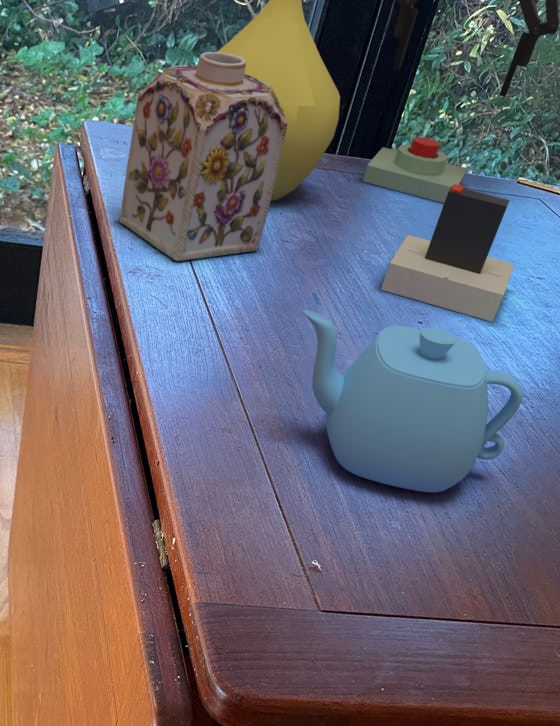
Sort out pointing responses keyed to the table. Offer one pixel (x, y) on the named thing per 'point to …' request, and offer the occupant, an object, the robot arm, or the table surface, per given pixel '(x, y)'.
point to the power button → (424, 147)
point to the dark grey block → (466, 228)
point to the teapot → (410, 406)
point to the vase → (291, 86)
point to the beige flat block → (447, 281)
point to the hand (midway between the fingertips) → (448, 81)
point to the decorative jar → (203, 159)
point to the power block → (414, 173)
